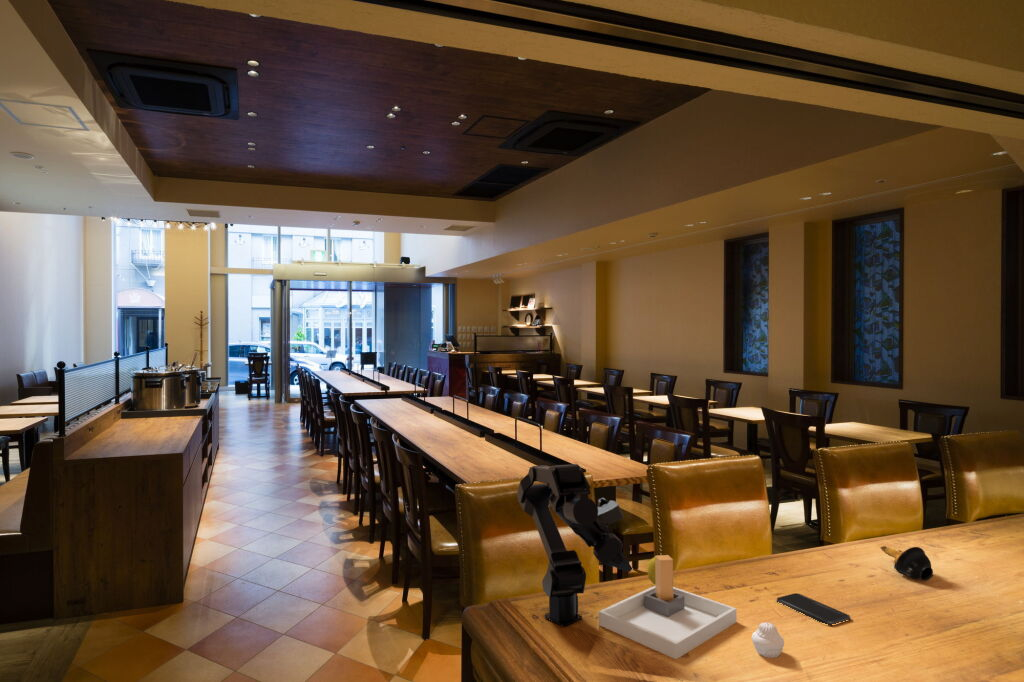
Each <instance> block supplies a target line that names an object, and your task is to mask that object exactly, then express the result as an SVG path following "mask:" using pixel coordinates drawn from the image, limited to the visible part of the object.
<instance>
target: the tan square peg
mask: <svg viewBox="0 0 1024 682" xmlns="http://www.w3.org/2000/svg"><path fill="white" fill-rule="evenodd" d="M654 557H655V584H654V586H655V588H656V596H657V598H658V599H661V600H663V601H666V602H668V601H670V600H672V599H673V587H674V559H673V558H672V557H671V556H670V555H669V554H665V555H664V554H663V555H661V554H660V555H659V554H658V555H654Z"/></svg>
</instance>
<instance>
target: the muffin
mask: <svg viewBox="0 0 1024 682" xmlns="http://www.w3.org/2000/svg"><path fill="white" fill-rule="evenodd" d="M751 641H752V644H753V646H754V649H755V651H756V652H757V654H759V655H761V656H762V657H765V658H770V659H774V658H775V659H776V658H777V657H780V655H781V653H782V652H783V649H784V646H785V640H784V637H782V635H781V634H780V633H779V632H778V628H777V627H776V626H775V625H774V624H773V623H771V622H761V623H759V624H758V628H757V629H756V631H754V632H753V633H752V635H751Z"/></svg>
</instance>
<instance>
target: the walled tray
mask: <svg viewBox="0 0 1024 682" xmlns="http://www.w3.org/2000/svg"><path fill="white" fill-rule="evenodd" d="M737 616H738V614H737V608H736V607H735V606H734V607H733V606H731V605H728V604H726V603H722V602H719V601H716V600H713V599H710V598H707V597H705V596H701V595H698V594H695V593H692V592H690V591H687V590H683V589H681V588H678V587H675V586H673V599H672V600H670V601H668V602H666V601H663V600H661V599H658V598H657V596H656V588H655V585H653V586H651V587H649V588H647V589H644V590H643V591H640V592H637V593H636V594H634V595H632V596H629V597H627V598H625V599H623V600H620V601H618V602H616V603H614V604H612V605H609V606H608V607H606V608H603V609H601V610H599V611H598V629H600V628H601V627H603V628H604V629H606V630H609V631H611V632H613V633H616V634H618V635H620V636H622V637H624V638H628V639H629V640H632V641H633V642H636V643H638V644H641V645H642V646H645V647H647V648H650V649H652V650H654V651H657V652H658V653H660V654H663V655H666V656H668V657H669V658H672V659H674V660H678V659H679V658H681V657H683V656H684V655H686V654H687V653H689V652H690V651H692V650H693V649H695V648H697V647H698V646H700V645H701V644H703V643H705V642H707V641H708V640H710V639H711V638H713V637H714V636H716V635H719V633H721V632H723V631H725V630H726V629H728V628H729V627H731V626H732V625H734V624H736V623H737V620H738V619H737Z"/></svg>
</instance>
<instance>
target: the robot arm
mask: <svg viewBox="0 0 1024 682" xmlns="http://www.w3.org/2000/svg"><path fill="white" fill-rule="evenodd" d="M537 482H539V483H537ZM536 483H537V484H536ZM516 494H517V495H516V496H517V497H516V498H517V502H518V503H519V504H520V507H521V508H522V510H523V512H524V513H526V514H527V515H529V516H530V517H532V518H533V522H534V524H535V527H536V530H537V532H538V535H539V538H540V540H541V542H542V546H543V549H544V551H545V553H546V556H547V559H548V564H547V567H546V568H547V570H546V572H545V575H544V576H543V579H542V581H541V583H542V584H541V585H542V591H543V592H544V593H545V594H546V595H547V597H548V601H549V602H548V604H549V605H548V608H549V609H548V610H549V611H548V613H547V614H544V619H546V618H547V619H546V620H548V619H550V620H552V621H554V622H556V623H555V624H557V623H558V624H557V625H559V624H560V625H559V626H561V625H562V626H561V627H567V626H569V625H572V624H573V623H575V622H578V621H580V620H582V619H583V615H581V614H578V613H579V595H578V594H584V591H585V586H586V580H587V573H586V571H585V568H584V566H583V565H582V562H581V560H580V558H579V556H578V552H577V551H576V550H574V549H571V550H570V549H569V550H568V549H567V547H566V545H565V542H564V540H563V538H562V536H561V532H560V531H559V529H558V526H557V523H556V521H555V519H554V517H553V514H552V511H553V512H554V513H555V515H556V516H558V517H559V518H560V520H562V521H563V522H564V523H565V524H566V525H567V526H568V527H569V528H570V529H571V531H572V532H573V533H575V535H576V536H578V537H579V538H580V539H581V540H583V542H584V543H585V544H586V546H587V547H588V548H591V547H593V548H592V549H593V551H592V552H593V555H594V557H595V558H596V560H597V561H598V562H600V564H601V565H602V566H610V567H613V568H616V569H619V570H621V571H625V572H628V573H630V572H631V571H632V570H633V567H632V566H631V565H630V562H629V561H628V559H627V558H626V557H625V555H624V554H623V552H622V549H623V547H624V545H623V544H624V543H623V542H622V541H621V540H620V538H619V537H617V536H616V535H615V534H614V533H613V532H610V533H609V532H608V530H609V525H611V524H612V523H615V522H616V521H621V520H623V519H624V517H625V516H624V514H623V512H622V509H621V508H620V505H619V504H618V502H617V501H615V500H609V501H608V500H607V499H606V498H605V497H601V498H599V499H598V500H597V504H596V503H595V501H594V500H593V499H591V498H590V497H589V495H591V485H590V484H589V482H588V480H587V477H586V474H585V473H584V471H583V469H582V468H581V466H580V465H579V464H578V463H575V464H558V465H552V466H549V465H546V464H545V465H544V464H543V465H532V466H530V467H529V469H528V473H527V474H526V475H525V476H524V477H523V478H522V479H521V480H520V481H519V483H518V489H517V493H516ZM550 508H552V511H551V510H550ZM550 620H549V621H550ZM552 621H551V622H552ZM554 622H553V623H554ZM571 623H572V624H571ZM566 625H567V626H566Z"/></svg>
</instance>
